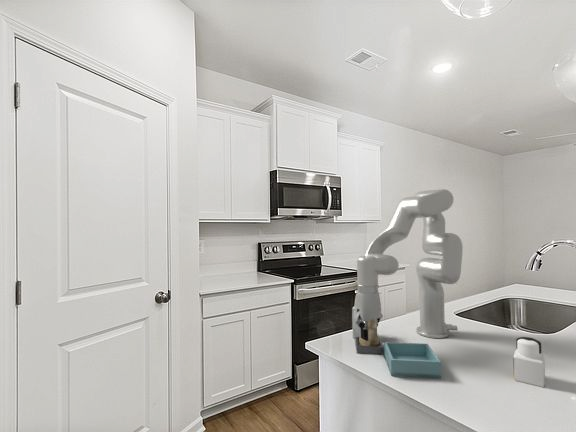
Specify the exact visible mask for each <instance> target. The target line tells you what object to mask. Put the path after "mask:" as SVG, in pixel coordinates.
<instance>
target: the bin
mask: <svg viewBox="0 0 576 432" xmlns="http://www.w3.org/2000/svg"><path fill="white" fill-rule="evenodd" d="M383 346H384V354H383V355H384V356H383V357H384V359H385V361H386V366H387V367H388V371H389V374H390V376H391V377H404V378H425V379H426V378H427V379H442V361H441V360H440V358H438V356H437V354H436V353H435V352H434V351H433V350H432V348H431V347H430V345H429V344H428V343H419V342H417V343H413V342H392V341H391V342H388V341H385V342H383Z"/></svg>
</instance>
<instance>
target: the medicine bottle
mask: <svg viewBox="0 0 576 432" xmlns="http://www.w3.org/2000/svg"><path fill="white" fill-rule="evenodd" d="M515 344H516V347H515V348H516V349H515V351H514V354H513V357H512V358H513V361H512V362H513V380H514V381H515V382H520V383H524V384H529V385H532V386H536V387H541V388H544V387H545V381H546V380H545V379H546V375H545V373H546V368H545V366H546V365H545V355H544V354H542V343H541V341H539V340H537V339H535V338H534V337H528V336H520V337H519V336H518V337H517V338H516V343H515Z"/></svg>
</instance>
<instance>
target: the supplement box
mask: <svg viewBox="0 0 576 432" xmlns="http://www.w3.org/2000/svg"><path fill="white" fill-rule="evenodd" d="M351 310H352V311H351V312H352V313H351V314H352V319H351V321H352V339H355V337H361V328H359V326H358V325H357V324H355V323H354V320H355V317H354V306H353V307H352V309H351ZM359 321H360V320H359Z"/></svg>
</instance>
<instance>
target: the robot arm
mask: <svg viewBox="0 0 576 432" xmlns="http://www.w3.org/2000/svg"><path fill="white" fill-rule="evenodd" d="M453 204H454V196H453V193H452V192H451V191H450V190H449V189H445V188H442V189H441V188H440V189H431V190H423V191H418V192H416V193H414V195H413V196H409V197H408V196H407V197H404V198H401V199H400V200H399V201H398V203H397V205H396V208H395V210H394V211H393V214H392V216H391V219H390V221H389V223H388V225H387V227H386V228H385V229H384V230H383V231H382V232H381V233H379V234H378V235H377V236H376V237H375V238H374V240H372V242H370V244H369V246H368V249H367V251H366V253H365V255H362V256H359V257H357V259H356V269H357V270H356V273H357V277H356V279H357V292H356V294H355V299H354V306H353V307H354V317H355V320H354V323H355V324H357V325H358V326H359V328H361V338H362V339H364V340H366V341H367V340H368V330H367V321H369V320H372V319H376V324H377V328H378V327H379V323H380V321H381V319H382V318H383V317H384V316H383V314H382V303H381V297H380V292H379V288H380V287H379V276H382V275H383V276H391V275H394V274H395V273H397V272H398V270H399V268H400V267H399V266H400V265H399V261H398V259H397V258H396V257H394V256H392V255H389V254H384V253H385V251H386V250H387V249H388V248H389V247H390V246H392V245H395V244H396V243H399V242H401V241H404V240H405V239H407V238H408V236H409V235H410V232H411V229H412V227H413V225H414V224H415V223H414V222H415V221H416V219H417V218H418V219H420V218H421V219H422V220H423V230H422V244H421V245H422V246H421V247H422V250H423V252H424V253H425V254H428V255H431V256H432V255H433V256H439V257H440V256H441V257H442V258H441V259H440V258H435V257H423V258H421V259H420V260H419V261H418V262H417V263H416V266H415V267H416V268H415V269H416V275H417V280H418V286H419V287H418V288H419V326H418V327H416V329H415V330H416V333H417V334H419V335H420V336H423V337H426V338H432V339H444V338H447V337H449V336H450V332H449V331H458V326H457V325H453V324H450V323H446V321H445V319H446V318H445V317H446V316H445V291H444V288H443V284H446V285H454V284H456V283H457V282H459V280H460V278H461V274H462V264H463V263H462V262H463V260H462V259H463V242H462V239H461V238H460V236H459V235H457V234H456V233H453V232H446V220H445V216H444V215H443V212H445V211H447V210H450V208H451V207H452V205H453ZM359 320H360V321H359ZM363 322H364V325H363Z"/></svg>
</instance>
